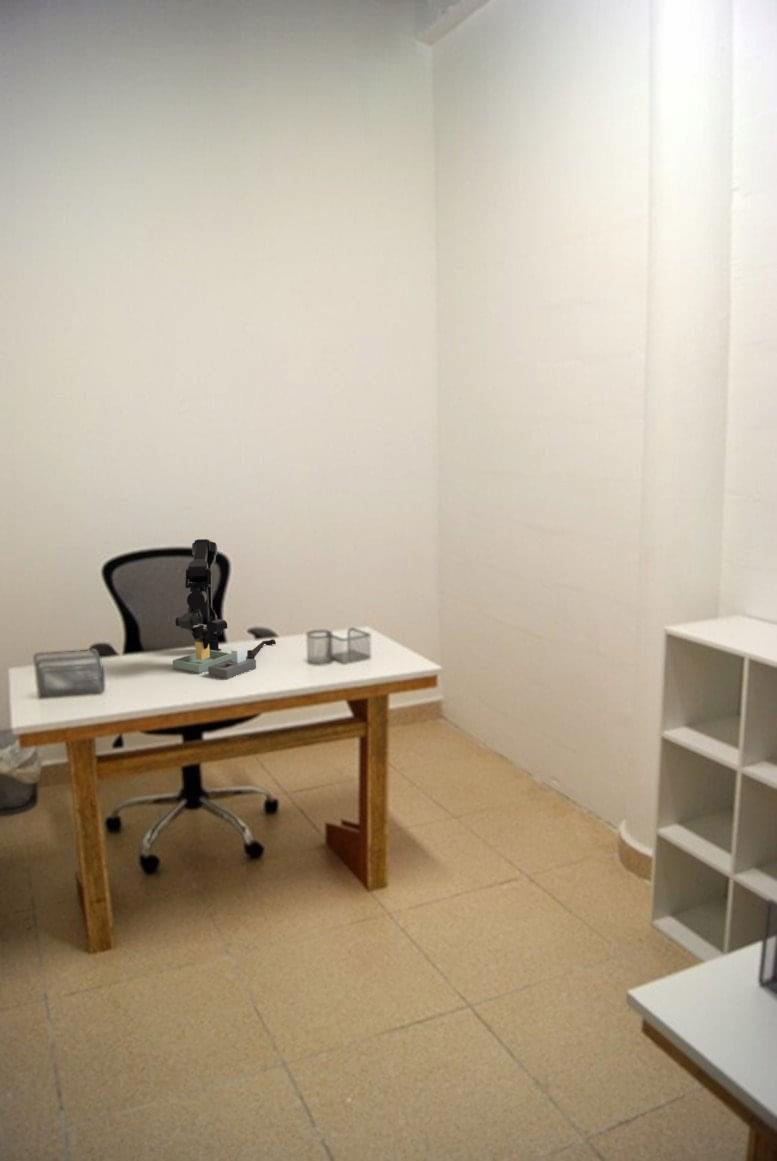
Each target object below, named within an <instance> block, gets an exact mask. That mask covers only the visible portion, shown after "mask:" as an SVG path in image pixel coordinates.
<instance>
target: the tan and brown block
mask: <svg viewBox="0 0 777 1161" xmlns="http://www.w3.org/2000/svg"><path fill="white" fill-rule="evenodd" d="M194 646H195V647H194V648H195V653H196V659H199V660H203V659H206V658H209V657H210V649H209V645H208V647H207V648H206V649H204V645H203V636H202V637H199V638H196V639H194Z"/></svg>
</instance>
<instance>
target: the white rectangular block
mask: <svg viewBox="0 0 777 1161" xmlns="http://www.w3.org/2000/svg"><path fill="white" fill-rule="evenodd" d="M230 651H231V652H230V653H232V662H234V663H240V662H243V661H245V660H246V657H247V651H246V648H245V647H237V648H234V649H231V650H230Z"/></svg>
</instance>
